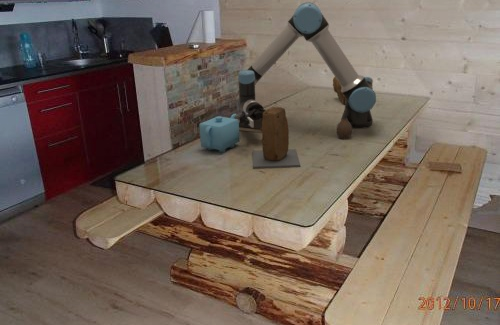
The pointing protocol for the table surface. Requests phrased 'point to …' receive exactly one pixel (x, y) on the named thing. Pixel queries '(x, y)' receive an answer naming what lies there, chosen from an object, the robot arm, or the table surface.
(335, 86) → the rough brown rock
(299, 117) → the table surface
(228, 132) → the teapot
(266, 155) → the block
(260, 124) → the hardcover book
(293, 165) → the mat
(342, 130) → the vase
